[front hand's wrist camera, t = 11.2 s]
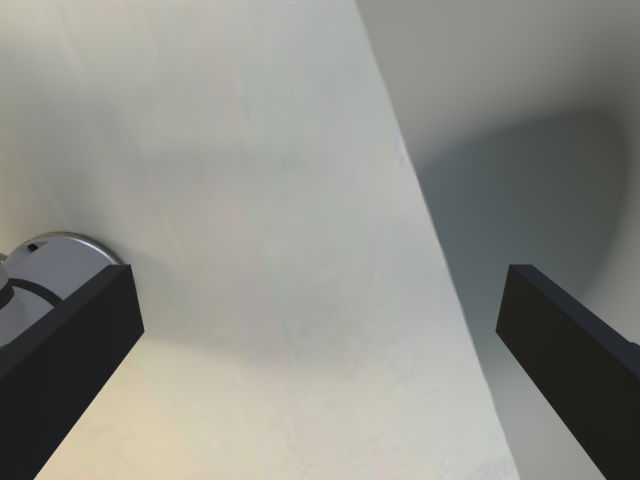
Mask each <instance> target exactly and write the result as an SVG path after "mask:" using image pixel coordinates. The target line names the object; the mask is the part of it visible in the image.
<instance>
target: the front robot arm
mask: <svg viewBox="0 0 640 480" xmlns="http://www.w3.org/2000/svg"><path fill="white" fill-rule="evenodd" d="M143 333H144V326H143V321H142V317H141V312H140V307H139V302H138V298H137V293H136V288H135V283H134V279H133V274H132V269H131V265H124V264H123V263H122V262H121V261H120V259H119V258H118V257H117V256H116V255H115V254H114V253H112V252H111V251H110V250H109V249H107V248H106V247H105V246H103V245H102V244H100V243H98V242H96V241H94V240H92V239H90V238H88V237H85V236H82V235H78V234H74V233H68V232H52V233H46V234H43V235H39V236H37V237H35V238H33V239H31V240H29V241H27V242H25V243H23V244H21V245H20V246H19V247H17V248H16V249H15V250H14V251H13V252H12V253H11V254H10V255H9V256H8V257H7V258H6V260H5V261H4V262H3V263H2V262H1V260H0V480H34V478H35V477H36V476H37V474H38V473H39V472H40V470H41V469H42V468H43V466H44V465H45V464H46V462H47V461H48V460H49V458H50V457H51V456H52V454H53V453H54V452H55V450H56V449H57V448H58V446H59V445H60V444H61V442H62V441H63V440H64V438H65V437H66V436H67V434H68V433H69V432H70V430H71V429H72V428H73V426H74V425H75V424H76V422H77V421H78V420H79V418H80V417H81V416H82V414H83V413H84V412H85V410H86V409H87V408H88V406H89V405H90V404H91V402H92V401H93V400H94V398H95V397H96V396H97V394H98V393H99V392H100V390H101V389H102V388H103V386H104V385H105V384H106V382H107V381H108V380H109V378H110V377H111V376H112V374H113V373H114V372H115V370H116V369H117V368H118V366H119V365H120V364H121V362H122V361H123V360H124V358H125V357H126V356H127V354H128V353H129V352H130V350H131V349H132V348H133V346H134V345H135V344H136V342H137V341H138V340H139V338H140V337H141V336H142V334H143ZM496 333H497V334H498V336H499V337H500V338H501V339H502V341H503V342H504V343H505V345H506V346H507V348H508V349H509V350H510V351H511V353H512V354H513V356H514V357H515V358H516V360H517V361H518V362H519V364H520V365H521V366H522V368H523V369H524V370H525V372H526V373H527V374H528V376H529V377H530V378H531V379H532V381H533V382H534V383H535V385H536V386H537V388H538V389H539V390H540V391H541V393H542V394H543V396H544V397H545V398H546V399H547V401H548V402H549V404H550V405H551V406H552V408H553V409H554V410H555V412H556V413H557V414H558V415H559V417H560V418H561V420H562V421H563V422H564V424H565V425H566V426H567V427H568V429H569V430H570V431H571V433H572V434H573V436H574V437H575V438H576V440H577V441H578V442H579V443H580V445H581V446H582V448H583V449H584V450H585V452H586V453H587V454H588V456H589V457H590V458H591V460H592V461H593V462H594V463H595V465H596V466H597V468H598V469H599V470H600V471H601V473H602V474H603V476H604V477H605V478H606V480H640V345H638V344H636V343H634V342H629V341H628V340H626V339H625V338H624V337H622V336H621V335H620V334H619V333H617V332H616V331H615V330H614V329H612V328H611V327H610V326H609V325H607V324H606V323H605V322H604V321H602V320H601V319H600V318H598V317H597V316H596V315H595V314H593V313H592V312H591V311H590V310H588V309H587V308H586V307H584V306H583V305H582V304H581V303H580V302H578V301H577V300H576V299H574V298H573V297H572V296H571V295H569V294H568V293H567V292H566V291H564V290H563V289H562V288H560V287H559V286H558V285H557V284H555V283H554V282H553V281H552V280H550V279H549V278H548V277H547V276H545V275H544V274H543V273H542V272H540V271H539V270H538V269H536V268H535V267H534V266H533V265H509V269H508V274H507V279H506V283H505V288H504V293H503V298H502V303H501V307H500V312H499V317H498V321H497V326H496Z"/></svg>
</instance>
